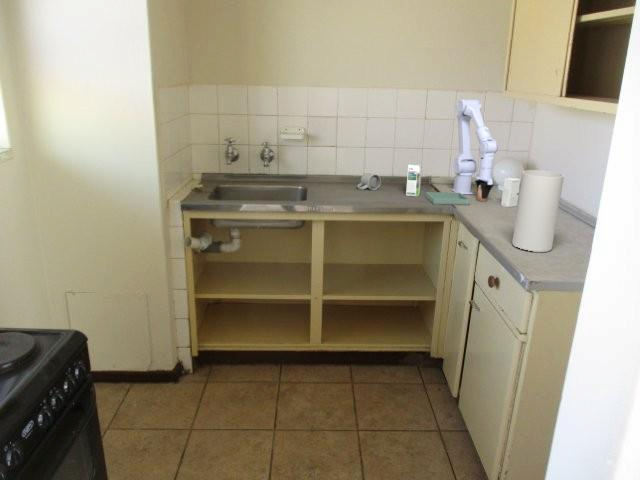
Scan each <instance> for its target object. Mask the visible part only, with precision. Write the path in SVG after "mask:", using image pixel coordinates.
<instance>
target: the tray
mask: <svg viewBox="0 0 640 480" xmlns="http://www.w3.org/2000/svg"><path fill="white" fill-rule="evenodd" d="M425 198H426V200H428V201H429V202H430V203H431V204H432V205H435V206H437V205H438V206H470V201H471V199H470V198H468V197H467V196H465V194H461V193H455V192H446V191H445V192H437V191H436V192H434V191H432V192H431V191H427V192H425Z"/></svg>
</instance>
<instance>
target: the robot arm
mask: <svg viewBox="0 0 640 480" xmlns="http://www.w3.org/2000/svg"><path fill="white" fill-rule="evenodd" d="M482 107H483V106H482V102H481V100H480V99H464V98H461V99H459V100H458V102H457V104H456V107H455V109H456V110H455V111H456V118H457V122H458V123H457V127H458V128H457V129H458V146H459V147H458V149H459V155H458V156H456V157H455V158H454V163H453V172H454V173H455V176H454V179H453V180H454V181H453V188H451V191H452V193H461V194H463V195H473V194H474V193H473V192H472V191H471V190H472V189H471V187H472V180H473V176H474V174H475V173H476V172H477V170H478V173H477V174H476V176H475V179H476V180H475V181H474V183H475V185H476V190H477V192H478V187H479V185H481V189H482V199H487V197H489V194H490V192H491V190H492V188H493V187H494V180H493V177H492V176H493V169H494V160H495V154H497V152H498V150H499V144H498V143H499V142H498V141H497V140H495V138H493V137H492V134H491V132H490V129H489V127H488V126H486V125H485V122H484V119H483V116H482ZM471 120H472V122H473V123H474V126H475V127H476V131H475V134H476V137H477V139H478V142H479V146H478V151H479V157H480V159H479V167H478V164H477V161H476V157H475V156H474V155H473V154H472V151H471V150H472V149H471V127H470V126H471V125H470V121H471ZM487 200H488V199H487Z"/></svg>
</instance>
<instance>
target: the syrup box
mask: <svg viewBox="0 0 640 480" xmlns="http://www.w3.org/2000/svg"><path fill="white" fill-rule="evenodd" d="M422 167H423V164H417V163H416V164H415V163H409V164H408V165H407V175H406V191H405V196H409V197H419V195H420V193H421V192H420V190H421V181H422V172H423V171H422V170H423V169H422Z"/></svg>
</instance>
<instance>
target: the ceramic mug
mask: <svg viewBox="0 0 640 480" xmlns="http://www.w3.org/2000/svg"><path fill="white" fill-rule="evenodd" d="M381 182H382V181H381V177H380V175H378V174H377V173H376V174H375V173H371V172H370V173H364V174H362V176H361V178H360V183H358V184H357V186H356V187H357V189H358V190H361V191H362V190H365V189H369V190H372V191H376V190H377V189H379V187H380V186H381Z"/></svg>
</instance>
